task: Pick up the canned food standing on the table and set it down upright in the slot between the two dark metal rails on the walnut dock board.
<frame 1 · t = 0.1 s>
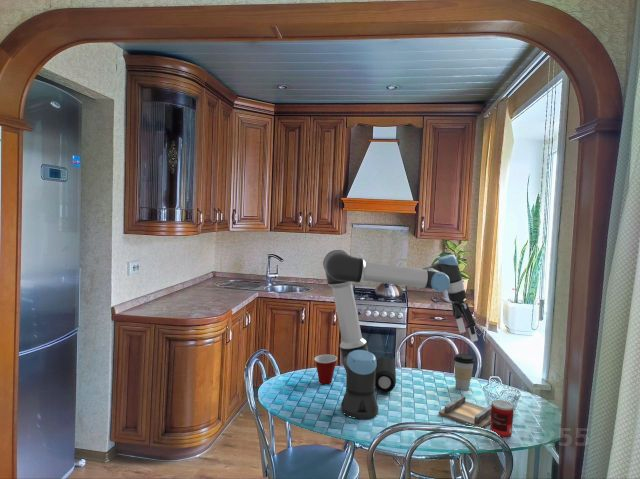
hand: (468, 336, 205), 28 cm above the table, tool tilted 20°, fingers open, 13 cm apart
dock board: (469, 414, 191), on the table
portable speaker: (384, 384, 221), on the table
plastic cup: (324, 383, 220), on the table
canned food: (500, 433, 176), on the table
coffee cup: (462, 388, 220), on the table
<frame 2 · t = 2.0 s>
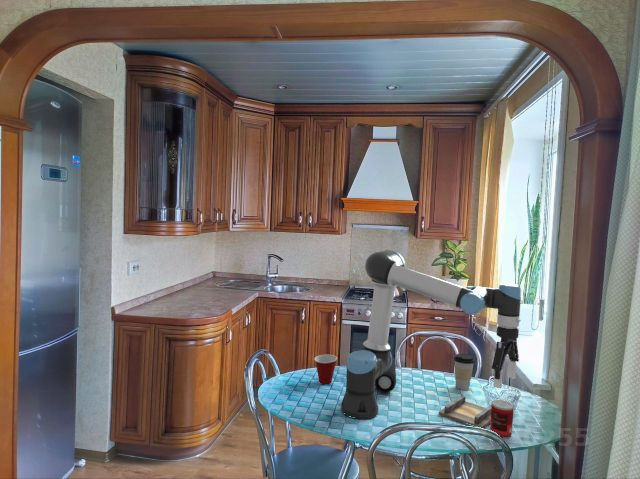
hand: (504, 382, 175), 19 cm above the table, tool pointing down, fingers open, 13 cm apart
nothing on the table moved.
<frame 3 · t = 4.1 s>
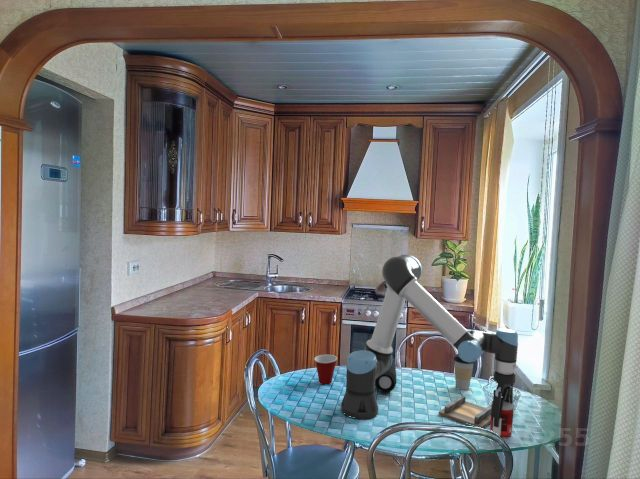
hand: (500, 430, 176), 1 cm above the table, tool pointing down, fingers closed on canned food, 8 cm apart
canned food: (500, 433, 176), on the table, touching gripper
everything else where it was.
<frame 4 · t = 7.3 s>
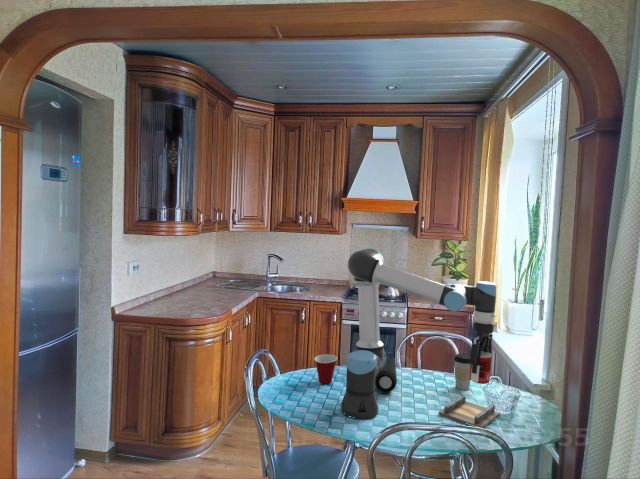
hand: (479, 378, 185), 17 cm above the table, tool pointing down, fingers closed on canned food, 8 cm apart
canned food: (479, 380, 185), point 16 cm above the table, touching gripper
everything else where it was.
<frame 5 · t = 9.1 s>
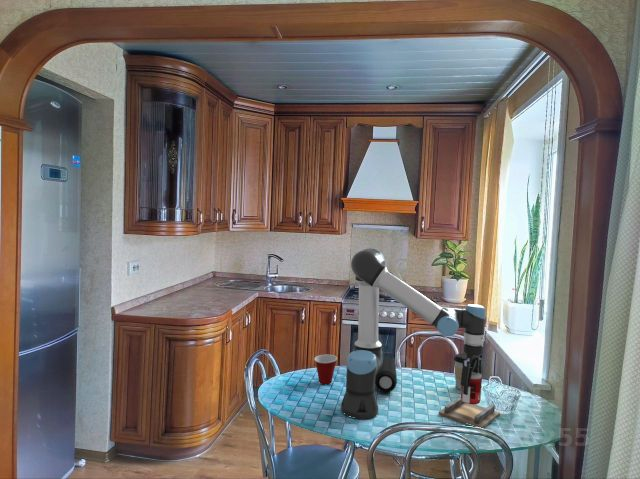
hand: (470, 398, 190), 7 cm above the table, tool pointing down, fingers closed on canned food, 8 cm apart
canned food: (470, 401, 190), point 6 cm above the table, touching gripper
everything else where it was.
when the fingers open (4 cm above the table, at t = 10.4 s): canned food drops 2 cm, resting on dock board.
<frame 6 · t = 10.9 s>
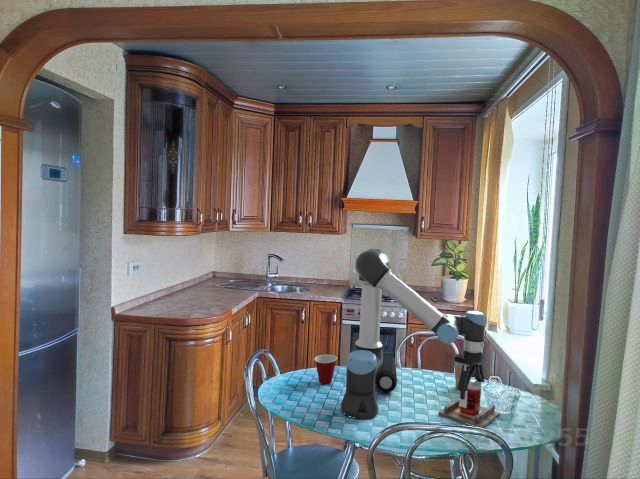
hand: (470, 401, 190), 5 cm above the table, tool pointing down, fingers open, 13 cm apart
canned food: (469, 412, 191), point 1 cm above the table, touching dock board
everything else where it was.
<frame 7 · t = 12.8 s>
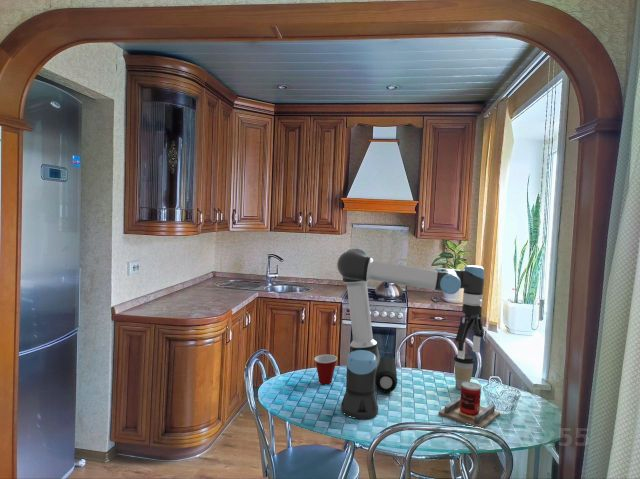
hand: (468, 355, 192), 24 cm above the table, tool pointing down, fingers open, 13 cm apart
nothing on the table moved.
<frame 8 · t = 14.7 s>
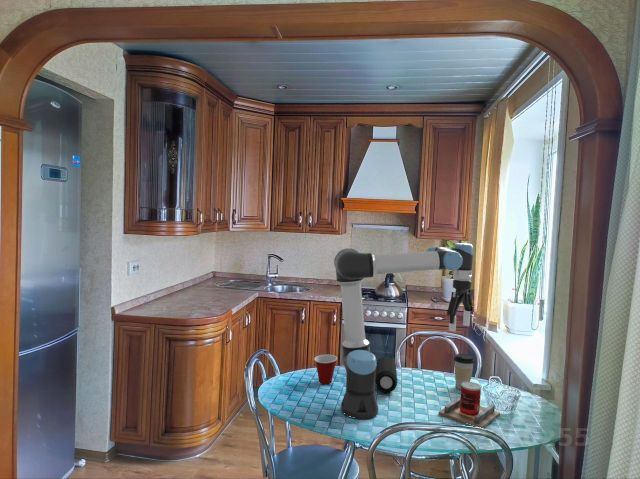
hand: (459, 328, 203), 32 cm above the table, tool pointing down, fingers open, 13 cm apart
nothing on the table moved.
at the end: canned food inside the target area on the dock board (0.1 cm from its centre), point 1.1 cm above the dock board's base; canned food tilted 0°; the gripper is holding nothing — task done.
